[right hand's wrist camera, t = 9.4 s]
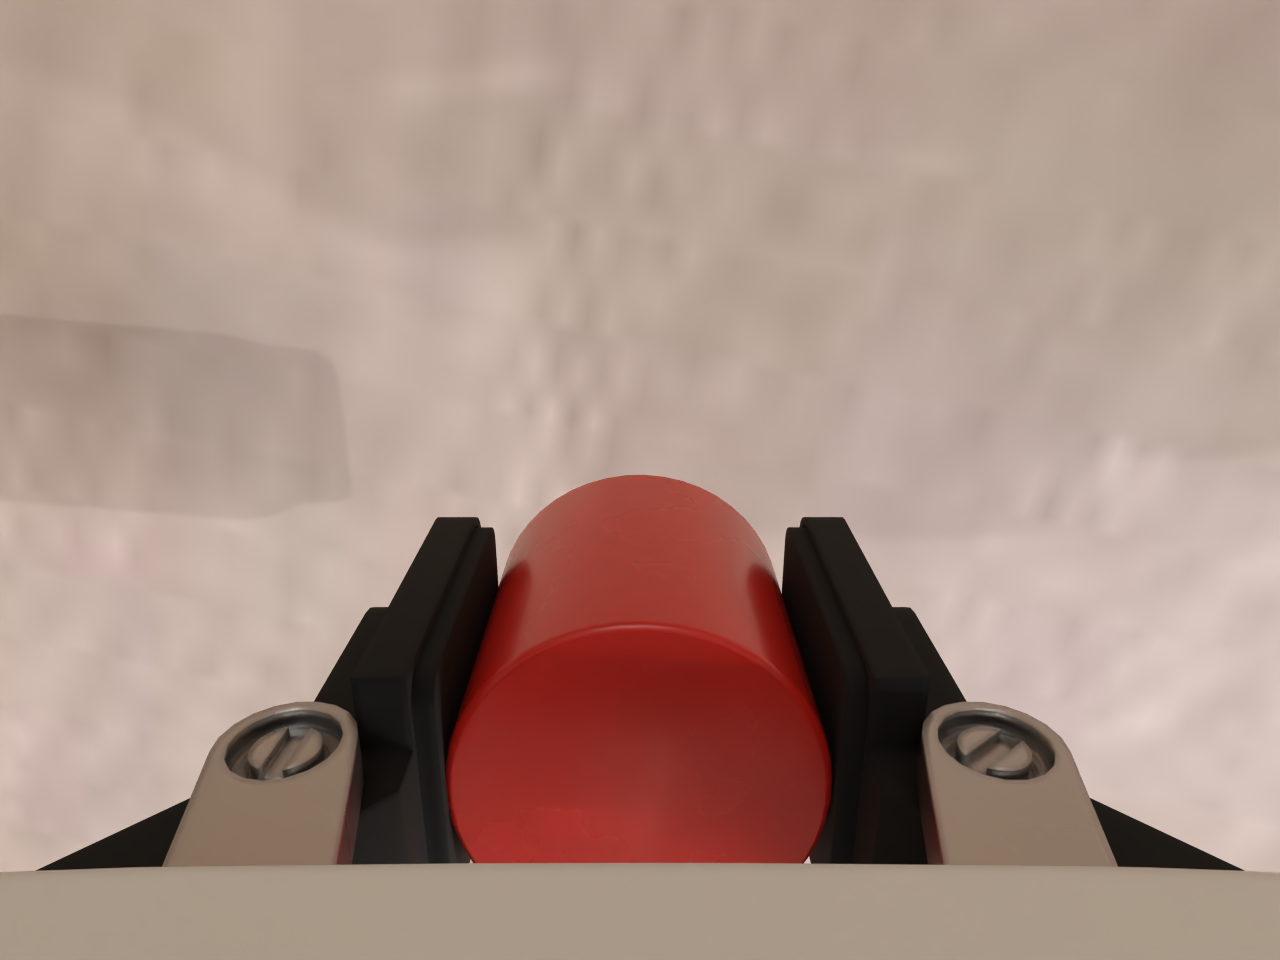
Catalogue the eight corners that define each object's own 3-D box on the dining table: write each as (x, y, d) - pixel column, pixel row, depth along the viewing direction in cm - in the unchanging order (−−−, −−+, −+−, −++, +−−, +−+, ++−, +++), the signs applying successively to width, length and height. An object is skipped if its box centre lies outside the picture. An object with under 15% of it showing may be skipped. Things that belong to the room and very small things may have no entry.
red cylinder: (701, 423, 12) (730, 557, 8) (820, 651, 13) (894, 861, 9) (449, 549, 12) (365, 727, 9) (585, 753, 14) (563, 988, 10)
